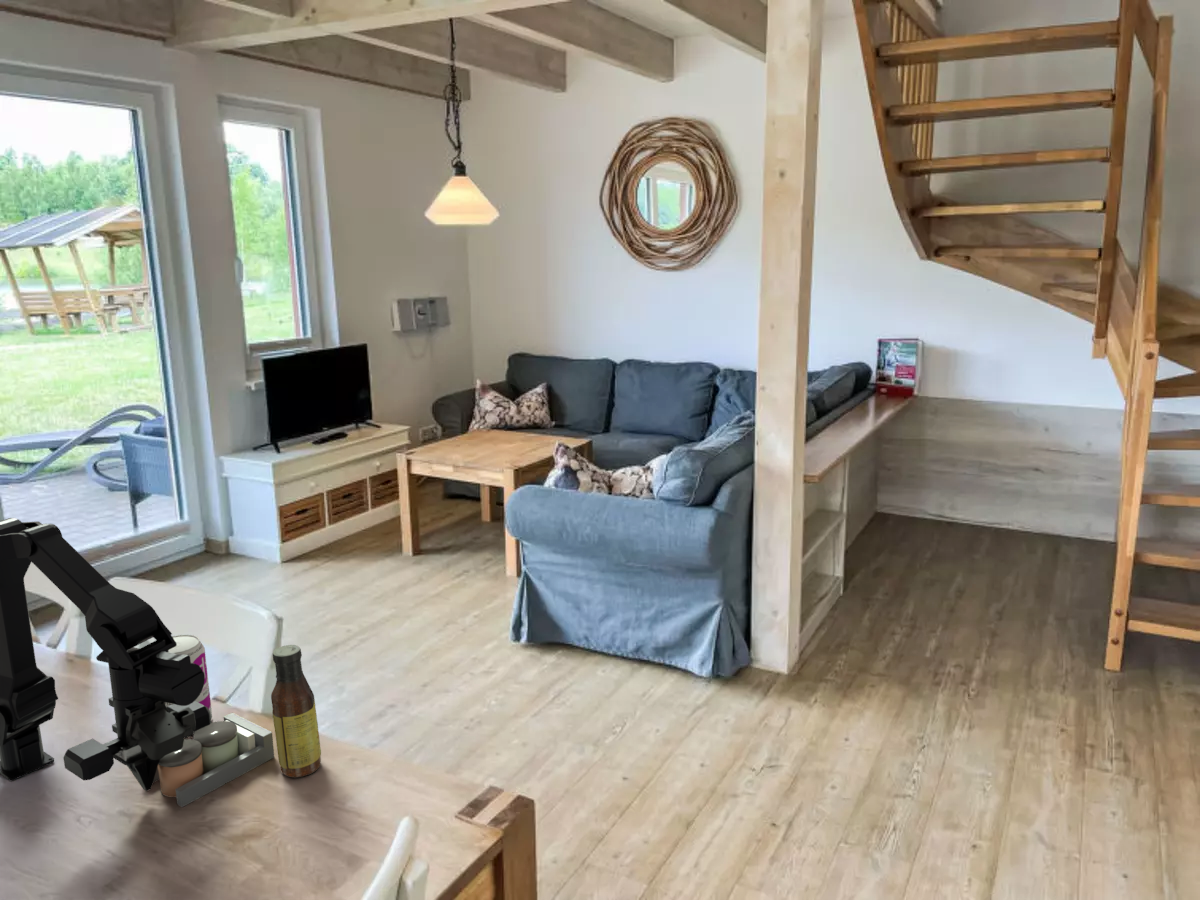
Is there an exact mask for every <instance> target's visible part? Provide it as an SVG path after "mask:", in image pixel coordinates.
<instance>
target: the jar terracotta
mask: <svg viewBox="0 0 1200 900" xmlns="http://www.w3.org/2000/svg"><path fill="white" fill-rule="evenodd" d="M158 771H159V779H160V780H159V785H160V792H161V794H162V795H163V796H166V797H169V798H177V797H176V789H177V788H179V787H180V786H182V785H184V784H186V783H188V782H190V781H192V780H194V779H196V778H198V777H200V776H202V775H203V774H204V770H203V761H202V746H201V743H200V742H199V741H197V740H194V738H191V739H189V738H184V743H183V747H182V748H181V749H180V750H178V751H174V752H172V753H169V754H167V755H165V756H164V757H163V758H161V759H160V761H159V763H158Z"/></svg>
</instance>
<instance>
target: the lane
mask: <svg viewBox="0 0 1200 900" xmlns="http://www.w3.org/2000/svg"><path fill="white" fill-rule="evenodd" d="M226 720H228V721H230V722H232V723H234V724H236V725H238V726H240V727H242V728H244V729H246V730H248V731H250V732H252V733H254V736H255V746H256V747H255V748H253V749H251V750H249V751H248V752H246V753H244V754H242V755H240V756H238V757H236V758H234V759H232V760H230V761H228V762H226V763H225V764H223V765H221V766H219V767H217V768H215V769H213V770H211V771H209V772H207V773H205V774H203V775H202V776H200V777H198V778H196V779H194V780H192V781H190V782H188V783H186V784H184V785H182V786H180V787H179V788H177V789H176V797H175V798H176V803H177V804H176V805H178V806H179V807H180V808H183V807H185V806H187V805H189V804H191V803H192V802H195V801H196V800H198V799H201V798H202V797H204V796H205V794H206V795H208V794H209V793H212V792H213V791H215V790H216V789H218V788H220V787H222V786H224V785H225V783H226V784H227V782H228V783H229V781H230V782H231V781H233V780H235V779H237V778H239V777H240V776H242V775H244V774H246V773H248V772H250V771H251V770H253V769H255V768H257V767H259V766H261V765H263V764H265V763H266V762H268V761H270V760H271V759H274V758H275V749H274V738H273V732H272V731H270V729H269V730H268V729H267V728H264V727H262V726H260V725H259V724H256V723H254V722H252V721H250V720H248V719H246V718H244V717H242V716H239V715H238V714H236V713H233V712H231V713H230V714H226V715H225V716H223V721H226ZM238 776H239V777H238ZM236 777H237V778H236ZM158 781H160V780H159V771H158V767H157V770H156V773H155V777H154V780H153V782H154V783H155V782H158ZM214 789H215V790H214ZM203 795H204V796H203Z"/></svg>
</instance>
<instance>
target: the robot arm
mask: <svg viewBox="0 0 1200 900" xmlns="http://www.w3.org/2000/svg"><path fill="white" fill-rule="evenodd" d="M31 564H33V565H35V567H36V568H37V569H38V571H40V572H41V573H42V574H43V575H44V576H45V577H46V578H47V579H49V581H51V584H54V586H55V587H56V588H57V589H58V590H59V591H61V593H63V594H64V595H65V596H66V598H67V599H69V601H70V602H72V603H73V604H74V605H75V607H77V608H78V609H79V611H80V612H81V613H82V615H84V619H85V627H86V629H85V630H86V632H87V633H88V635H89V636H90V637H91V638H92V639H93V641H95V643H96V645H97V646H98V647H99V648H100V649H101V650H102V651H101V652H100V653H99V654H98V655H96V660H97V661H98V662H101V663H107V665H108V671H109V679H110V686H111V695H112V697H109V698H108V705H109V706H110V707H112V708H113V710H114V711H113V712H114V720H115V723H114V724H111V728H112V732H113V733H115V734H116V735H117V738H114V739H112V740H110V741H108V742H105V743H101V742H99V741H98V740H97V739H95V738H91V739H89V740H86V741H84V742H81V743H79V744H77V745H74V746H72V747H69V748H68V749H66V751H65V753H64V755H63V757H62V758H63V762H64V763H63V764H64V769H66V770H67V771H69V772H71V773H72V774H73V775H75V776H76V777H78V778H79V779H81V780H83V781H90V780H92V779H95V778H97V777H100V776H101V775H104V774H105V773H107V772H110V770H111V768H113V766H114V765H115V761H114V759H115V760H116V761H117V762H119V763H121V764H123V765H124V766H126V767H128V769H129V771H130V772H131V774H132V775H133V777H134V778H135V779H136V781H137V782H138V784H139V785H140V787H141V788H142V790H144V791H145V792H148V791H150V790H152V788H153V784H154V783H153V780H154V777H155V773H156V770H157V767H158V763H159V761H160V759H161V758H163V757H164V756H165V755H167V754H169V753H172V752H174V751H178V750H180V749H181V748H182V747H183V743H184V739H187V738H189V737H191V736H192V735H194V734H193V731H194V732H195V731H197V730H199V729H201V728H203V727H205V726H208V725H210V723H212V719H211V714H210V711H209V709H208V707H206V706H204V705H202V704H200V703H198V702H196V701H195V700H196V699H197V698H198V696H199V695H200V693H201V691H202V689H203V686H204V681H205V675H204V672H203V671H202V669H201V667H200V666H199V665H197V664H194V663H191V661H190V656H189V655H185V654H174V653H169V651H168V650H170V649H172V648H174V647H175V646H177V644H176V642H175V640H174V639H173V637H172V636H173V633H172V631H170V630H169V628H168V627H167V626H166V625H165V624H164V622H163V620H162V619H161V617H159V614H158V613H157V611H156V610H155V609H154V608H153V606H152V605H150V604H149V603H147V602H146V601H145V600H143V599H142V598H141V597H139V596H138V595H137V594H135V593H134V592H131V591H127V590H123V589H119V588H117V587H115V586H114V585H112V583H110V581H108V580H107V579H106V578H105V577H104V576H103V575H102V574H101V573H100V572H99V571H98V570H96V568H94V566H92V564H90V562H89V561H88V560H87V559H86V558H84V557H83V556H82V554H80V553H79V552H78V551H77V549H75V548H74V547H73V546H72V545H71V544H70V542H68V541H67V540H66V539H65V538H64V537H63V534H62V532H61V529H60V528H59V527H58V526H57V525H55V524H53V523H42V522H41V521H25V522H23V521H21V520H20V519H18V518H16V517H9V518H5V519H2V520H0V775H1V776H2V777H4V778H6V779H7V780H8V781H15V780H16V779H18V778H21V777H23V776H25V775H28V774H30V773H32V772H34V771H36V770H39V769H41V768H43V767H45V766H48V765H50V764H53V763H54V762H55V758H54V756H52V755H50V754H48V753H47V752H46V751H44V745H43V738H42V733H41V727H40V726H41V725H42V724H44V723H46V722H48V721H51V720H52V719H53V718H54V713H55V709H56V705H57V704H56V703H57V700H59V697H58V694H57V691H56V680H55V678H54V677H53V676H50V675H47V674H45V672H43V671H42V670H41V669H40V668H39V667H38V666H37V665H38V664H37V662H36V661H37V660H36V655H35V654H36V653H35V648H34V647H35V646H34V641H33V634H32V628H31V619H30V614H29V607H28V599H27V592H26V588H25V587H26V584H25V576H26V574H27V573H28V570H29V568H30V566H31ZM152 638H153V639H154V641H152V642H150V643H148V644H147V645H144V646H142V647H141V648H139V647H137V646H138V645H141V644H142V643H145V642H146V641H149V640H150V639H152ZM165 702H167V703H172V705H170V706H168V707H167V708H166V706H165Z"/></svg>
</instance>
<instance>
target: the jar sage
mask: <svg viewBox="0 0 1200 900" xmlns="http://www.w3.org/2000/svg"><path fill="white" fill-rule="evenodd" d="M193 740H197V741H199V742H200V743H201V746H202V761H203V770H204V774H205V773H207V772H209V771H211V770H213V769H215V768H217V767H219V766H221V765H223V764H225V763H226V762H228V761H230V760H232V759H234V758H236V757H238V756H239V750H238V740H237V726H236V724H234V723H232V722H229V721H224V720H220V721H219V720H218V721H214V722H212V721H211V723H210V725H208V726H205V727H203V728H201V729H199V730H197V731H195V733H194V734H193Z"/></svg>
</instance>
